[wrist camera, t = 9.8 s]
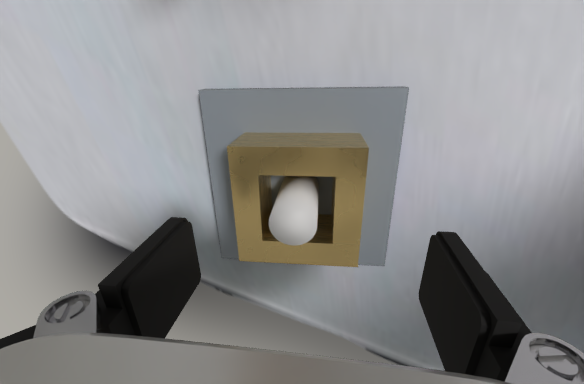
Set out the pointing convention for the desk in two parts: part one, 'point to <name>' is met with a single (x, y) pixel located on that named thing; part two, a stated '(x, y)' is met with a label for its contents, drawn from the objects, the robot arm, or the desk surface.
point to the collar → (299, 162)
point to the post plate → (310, 119)
